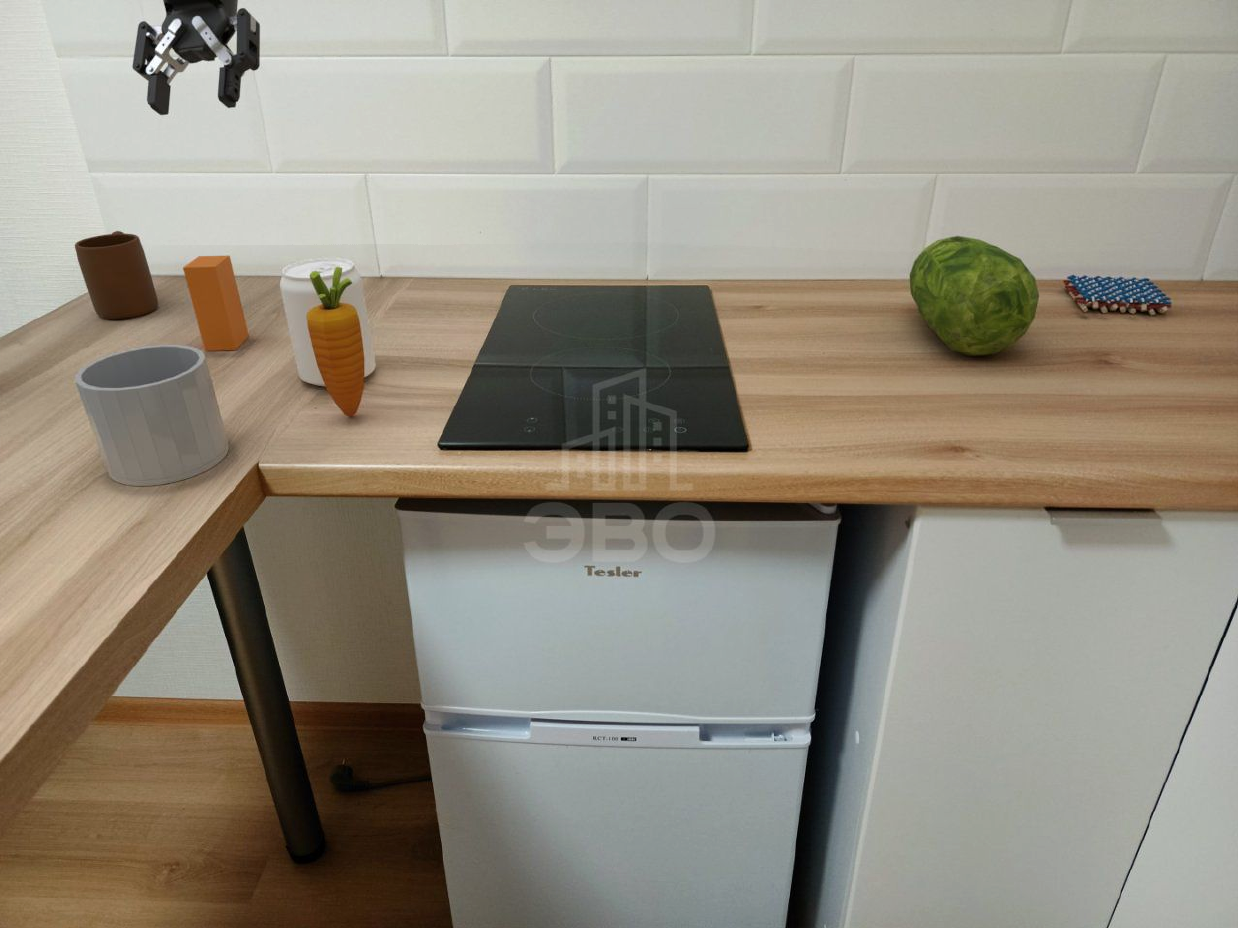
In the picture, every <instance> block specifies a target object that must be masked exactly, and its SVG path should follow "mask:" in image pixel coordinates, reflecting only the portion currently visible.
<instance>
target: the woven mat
mask: <svg viewBox="0 0 1238 928" xmlns="http://www.w3.org/2000/svg"><path fill="white" fill-rule="evenodd" d="M1066 278H1067V279H1063V281H1062V283H1063V284H1064V285H1063V288H1064V289H1065V290H1067V291H1068V293H1069V296H1070V297H1071V298H1072V299H1073V301H1074V302H1077V305H1078V306H1079V308H1080V309H1081V311H1083V313H1086V312H1088V311H1089V309H1088V308H1091V309H1093V310H1098V309H1099V310H1100V312H1102V314H1107V313H1108V310H1109V311H1111V312H1114V311H1117V309H1118V308H1119V312H1120V313H1123V314H1125V312H1126V311H1127V312H1129V314H1132V315H1134V314H1136V312H1137V310H1138V311H1140V312H1147V313H1148V314H1149V315H1150V316H1154V315H1156V312H1155V310H1156V311H1157V312H1158V313H1160V314H1165V313H1166V312H1167V311H1168V309H1170V308H1172V301H1171V297H1168V296H1167V293H1163V290H1162V289H1159V286H1157V285H1154V284H1155V283H1154V282H1153V281H1150V280H1151V279H1150V278H1147V277H1145V278H1144V277H1143V278H1141V277H1138V278H1137V277H1135V276H1134V277H1128V278H1124V277H1123V276H1114V277H1111V276H1109V275H1107V276H1100V275H1096V276H1094V275H1092V276H1091V277H1090V276H1088V275H1086V274H1084V275H1080V274H1079V275H1078V276H1076V275H1075V274H1070V275H1068V276H1066ZM1154 309H1155V310H1154Z"/></svg>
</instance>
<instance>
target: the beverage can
mask: <svg viewBox="0 0 1238 928" xmlns="http://www.w3.org/2000/svg"><path fill="white" fill-rule="evenodd" d="M336 267H340V268H342V273H341V278H340V282H341V281H343V280H344V279H346V278H349V279H350V280H351V281H352V284H351V285H349V286H347V287H346V289H345V290H344V291H343V293H342V295H341V298H340V301H339V302H340V303H347V304H350V305H352V306H353V307H355V309H356V311H357V314H358V317H359V321H360V328H361V335H362V342H363V351H364V378H366V377H368V376H369V375H371V374H372V373H373V372H374V371H375V369H376V367H377V364H376V363H377V362H376V357H375V352H374V351H375V350H374V346H373V340H372V332H371V327H370V321H369V315H368V309H367V304H366V297H365V292H364V285H363V280H362V276H361V274H360V272H359V270H358V269H356V267H355V263H354V262H353V261H352V260H350V259H347V258H341V257H319V258H310V259H309V258H308V259H304V260H299V261H296V262H293V263H290V264H288V265H286V266H285V267H283V268H282V270H281V274H282V276H281V278H280V281H279V289H280V294H281V300H282V303H283V309H284V313H285V317H286V322H287V326H288V331H289V336H290V341H291V345H292V351H293V354H294V359H295V363H296V368H297V373H298V377H299V378H300V379H301V380H302V381H303V382H305V383H307V384H311V385H315V386H318V387H325V388H326V386H325V383H324V381H323V379H322V376H321V374H320V371H319V369H318V366H317V362H316V359H315V355H314V351H313V347H312V343H311V339H310V334H309V330H308V324H307V313H308V312H309V310H310V309H312V308H314V307H316V306H318V305H321V304H322V302H321V300H320V298H319V297H318V294H317V292H316V290H315V288H314V286H313V284H312V281H311V279H310V274H311V273H312V272H313V271H318V272H319V274H320V276H321V279H322V280H323V282H324V283H325V285H326V286H327V288H328V290H329V292H330V288H331V287H332V282H333V274H334V270H335V268H336Z"/></svg>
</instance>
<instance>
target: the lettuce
mask: <svg viewBox="0 0 1238 928" xmlns="http://www.w3.org/2000/svg"><path fill="white" fill-rule="evenodd" d="M909 289H910V295H911V297H912V299H913V302H914V303H915V304H916V306H917V307H916V308H917V310H918V313H919V314H920V316H921V317H922V319H923V320H924V322H925V324H926V325H927V326H928V327H929V328H930V329H931V330H932V331H933V332H934V333H935V334H936V335H937V336H938V338H939V339H940V340H941V341H942V342H943V343H944V344H945V345H946V346H947V347H948V348H949V350H951V351H953V352H956V353H958V354H962V355H964V356H967V357H977V356H979V357H980V356H990V355H993V354H996V353H998V352H1001V351H1003V350H1006V349H1007V348H1010V347H1011V346H1013V345H1015V343H1017V342H1018V341H1019V340H1020V339H1021V338H1022V337H1024V335H1026V333H1027V332H1028V330H1029V329H1030V327H1031V325H1032V323H1033V321H1034V320H1035V318H1036V313H1037V309H1038V304H1039V299H1040V293H1039V289H1038V285H1037V280H1036V277H1035V276H1034V274H1033V273H1032V272H1031V271H1030V270H1029V268H1028V267H1027V266H1026V265H1025V263H1024V262H1023V259H1021V258H1019V257H1018V256H1016V255H1013V254H1011V253H1009V252H1007V251H1006V250H1004V249H1002V248H1001V247H999V246H996V245H995V244H992V243H991V244H990V243H988V242H986V241H984V240H982V239H979V238H973V237H972V238H971V237H967V236H962V235H961V236H960V235H955V236H950V237H946V238H940V239H937V240H936V241H935V240H934V241H933V242H932V243H931V244H929V245H928V246H926V247H925V248H923V250H922V251H921V252H920V253H919V254H918V256H916V258H915V259H914V261H913V263H912V266H911V270H910V272H909Z"/></svg>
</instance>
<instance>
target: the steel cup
mask: <svg viewBox="0 0 1238 928" xmlns="http://www.w3.org/2000/svg"><path fill="white" fill-rule="evenodd" d="M74 382H75V386H76V388H77V391H78V394H79V397H80V399H81V402H82V405H83V407H84V408H83V409H84V411H85V415H86V416H87V419H88V422H89V425H90V428H91V430H92V433H93V436H94V439H95V442H96V444H97V447H98V451H99V452H100V456H101V459H102V461H103V464H104V467H105V470H106V471H107V475H108V476H109V477H110V479H112V480H113V481H114V482H116V483H118V484H119V483H120V484H122V485H126V486H132V487H151V486H152V487H153V486H161V485H167V484H171V483H176V482H177V483H178V482H180V481H184V480H187V479H189V478H193V477H195V476H198V475H201V474H202V473H204V472H205V473H206V472H207V471H208V470H211V469H212V468H214V467H215V466H217V465H218V464H220V462H222V461H223V460H224V459H225V458H226V456H227V455H228V453H229V450H230V445H229V439H228V435H227V433H226V428H225V425H224V421H223V416H222V414H221V410H220V407H219V406H220V405H219V401H218V399H217V394H216V392H215V391H216V390H215V387H214V383H213V380H212V376H211V373H210V369H209V365H208V362H207V358H206V355H205V353H204V351H203V350H201V349H199V348H196V347H195V346H190V345H189V346H188V345H184V344H157V345H147V346H141V347H136V348H135V347H134V348H130V349H129V348H128V349H125V350H121V351H118V352H114V353H111V354H107V355H105V356H103V357H100V358H98V359H95V360H93V361H91V362H89V363H88V364H86V365H85V366H83V367H81V368H79V370H78V371H77V373H76V374H75V375H74Z"/></svg>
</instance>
